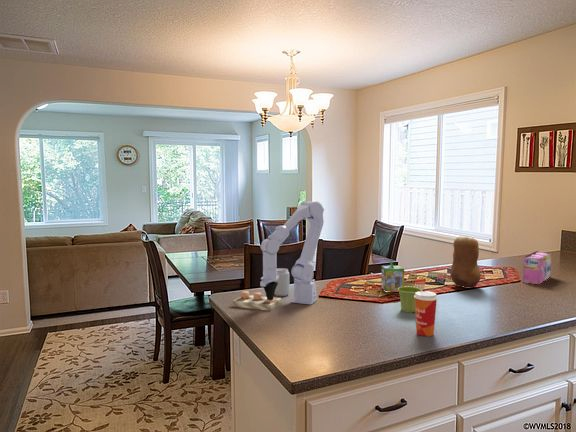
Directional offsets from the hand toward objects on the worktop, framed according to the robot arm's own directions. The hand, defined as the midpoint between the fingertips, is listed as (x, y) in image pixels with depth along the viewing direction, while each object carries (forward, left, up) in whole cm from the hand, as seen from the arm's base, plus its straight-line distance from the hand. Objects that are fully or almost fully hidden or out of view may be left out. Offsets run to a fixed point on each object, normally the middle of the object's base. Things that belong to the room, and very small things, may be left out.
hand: (270, 299), depth 178 cm
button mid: (+6, 0, -1) cm, 6 cm away
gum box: (-111, -92, -3) cm, 144 cm away
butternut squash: (-76, -63, -3) cm, 99 cm away
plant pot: (-55, -15, -3) cm, 57 cm away
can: (+3, -19, -3) cm, 19 cm away
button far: (+12, 0, -1) cm, 12 cm away
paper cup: (-63, +10, -3) cm, 64 cm away
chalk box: (-44, -44, -3) cm, 62 cm away
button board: (+6, 0, -3) cm, 7 cm away
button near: (0, 0, -3) cm, 3 cm away
